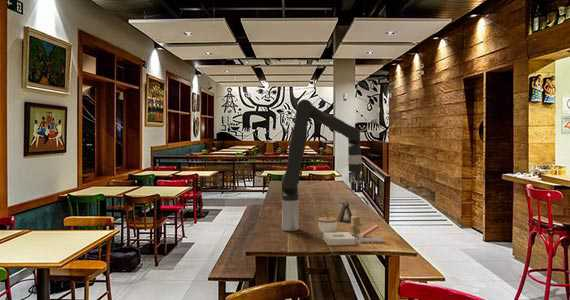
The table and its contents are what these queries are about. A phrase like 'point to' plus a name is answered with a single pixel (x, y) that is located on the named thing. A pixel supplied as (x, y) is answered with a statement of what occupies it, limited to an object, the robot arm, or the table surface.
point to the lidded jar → (327, 224)
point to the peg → (355, 225)
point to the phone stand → (344, 212)
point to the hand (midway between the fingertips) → (356, 191)
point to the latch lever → (369, 231)
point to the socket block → (339, 238)
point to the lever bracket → (367, 239)
